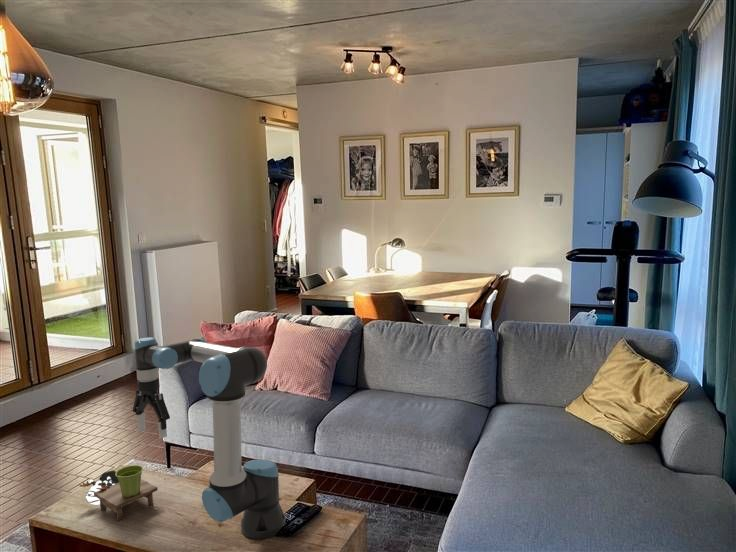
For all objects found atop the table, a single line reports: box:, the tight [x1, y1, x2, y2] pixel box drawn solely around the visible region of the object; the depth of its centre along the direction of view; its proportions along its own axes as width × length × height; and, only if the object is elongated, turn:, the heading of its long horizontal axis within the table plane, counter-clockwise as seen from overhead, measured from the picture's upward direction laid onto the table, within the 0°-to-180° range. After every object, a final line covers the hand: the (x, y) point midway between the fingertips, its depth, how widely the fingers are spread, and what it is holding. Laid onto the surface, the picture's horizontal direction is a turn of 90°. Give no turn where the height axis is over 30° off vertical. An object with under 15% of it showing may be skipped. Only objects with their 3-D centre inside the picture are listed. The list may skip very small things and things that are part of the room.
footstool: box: [94, 478, 158, 522], centre depth 200 cm, size 16×16×7 cm
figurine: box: [79, 470, 119, 506], centre depth 208 cm, size 14×10×18 cm
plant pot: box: [115, 464, 144, 497], centre depth 197 cm, size 9×9×9 cm
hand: (152, 434), depth 202 cm, fingers open, 13 cm apart
